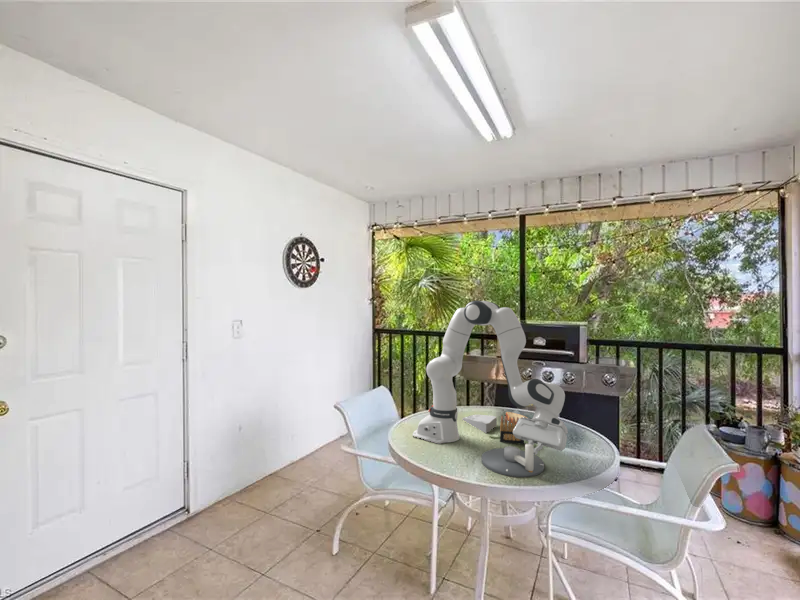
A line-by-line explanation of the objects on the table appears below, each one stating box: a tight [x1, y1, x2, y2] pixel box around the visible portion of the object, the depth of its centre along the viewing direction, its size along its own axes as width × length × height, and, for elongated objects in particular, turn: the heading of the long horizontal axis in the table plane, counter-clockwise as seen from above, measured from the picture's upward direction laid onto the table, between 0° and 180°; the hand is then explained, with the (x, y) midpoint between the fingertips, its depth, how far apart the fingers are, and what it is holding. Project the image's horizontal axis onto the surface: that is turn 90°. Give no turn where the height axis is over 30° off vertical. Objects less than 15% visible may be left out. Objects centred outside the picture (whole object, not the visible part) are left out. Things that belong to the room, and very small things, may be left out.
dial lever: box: [504, 443, 535, 471], centre depth 146 cm, size 15×6×9 cm, turn 20°
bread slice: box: [505, 411, 528, 425], centre depth 206 cm, size 18×18×4 cm
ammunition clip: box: [499, 415, 525, 445], centre depth 174 cm, size 11×2×12 cm, turn 76°
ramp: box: [462, 414, 498, 434], centre depth 199 cm, size 28×16×5 cm, turn 3°
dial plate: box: [481, 447, 545, 478], centre depth 150 cm, size 24×24×2 cm
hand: (532, 453), depth 142 cm, fingers closed, pressing on dial lever
